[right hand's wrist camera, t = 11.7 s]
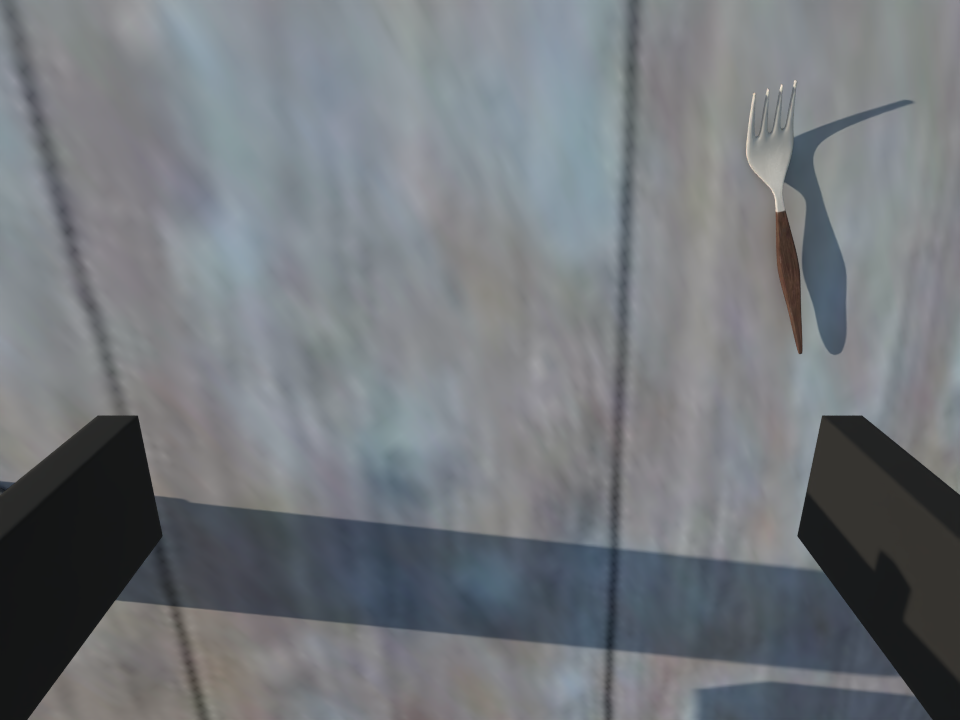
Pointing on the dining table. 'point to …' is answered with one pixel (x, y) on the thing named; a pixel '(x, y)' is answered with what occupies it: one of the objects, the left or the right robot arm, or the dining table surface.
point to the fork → (778, 197)
